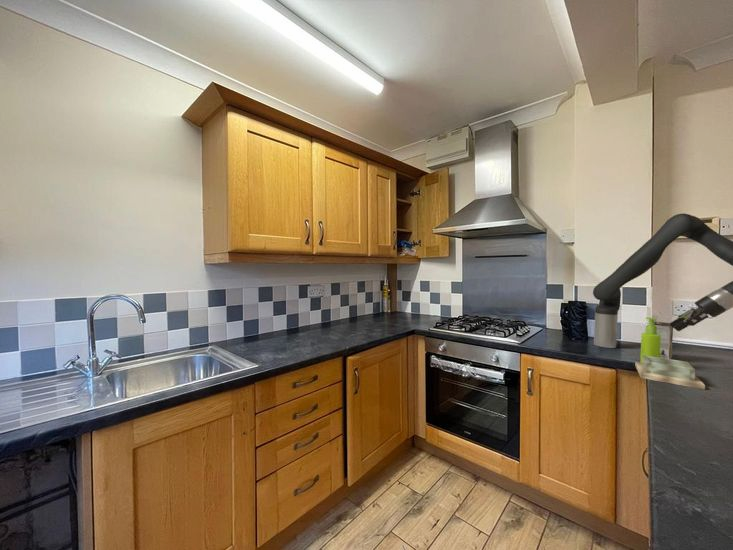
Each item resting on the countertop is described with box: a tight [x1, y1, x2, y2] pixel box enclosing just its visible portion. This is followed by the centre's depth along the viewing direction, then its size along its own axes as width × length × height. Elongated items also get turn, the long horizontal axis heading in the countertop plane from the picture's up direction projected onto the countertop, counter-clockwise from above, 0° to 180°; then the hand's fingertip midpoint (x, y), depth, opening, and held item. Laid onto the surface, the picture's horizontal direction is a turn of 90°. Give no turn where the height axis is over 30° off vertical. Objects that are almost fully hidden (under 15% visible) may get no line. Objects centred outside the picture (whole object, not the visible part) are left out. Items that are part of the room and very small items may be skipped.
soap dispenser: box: [639, 316, 661, 363], centre depth 125 cm, size 6×7×20 cm
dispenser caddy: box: [634, 355, 706, 390], centre depth 112 cm, size 16×18×6 cm
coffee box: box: [654, 321, 674, 359], centre depth 136 cm, size 9×6×16 cm
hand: (673, 327), depth 121 cm, fingers open, 8 cm apart
